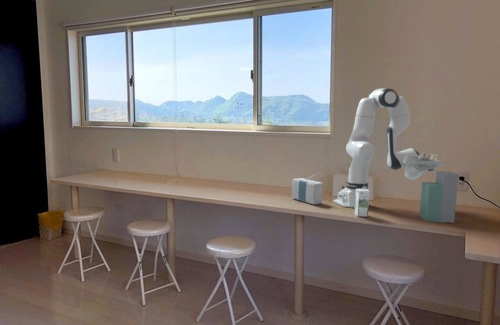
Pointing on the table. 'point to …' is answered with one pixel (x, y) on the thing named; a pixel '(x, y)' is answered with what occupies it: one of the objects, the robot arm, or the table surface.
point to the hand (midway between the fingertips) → (428, 154)
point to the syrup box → (362, 202)
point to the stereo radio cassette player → (307, 190)
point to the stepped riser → (439, 198)
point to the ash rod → (433, 157)
